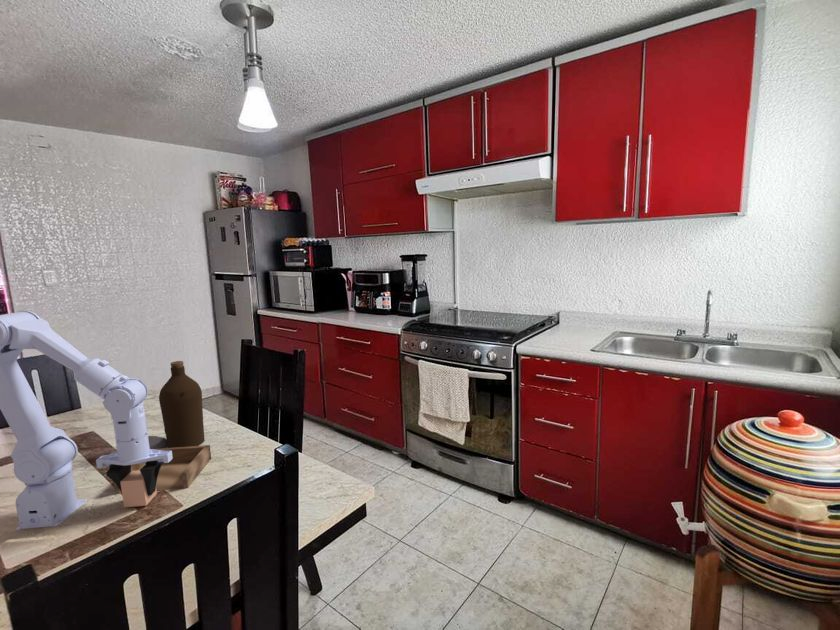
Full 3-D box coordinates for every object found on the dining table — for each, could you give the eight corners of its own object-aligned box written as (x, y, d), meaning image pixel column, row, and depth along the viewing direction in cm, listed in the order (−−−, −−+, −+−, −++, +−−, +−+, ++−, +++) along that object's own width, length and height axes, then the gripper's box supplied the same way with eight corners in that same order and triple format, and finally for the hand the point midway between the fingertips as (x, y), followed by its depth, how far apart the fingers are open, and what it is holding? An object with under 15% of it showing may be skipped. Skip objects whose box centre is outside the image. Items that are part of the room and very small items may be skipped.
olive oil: (215, 440, 122) (206, 359, 119) (182, 456, 113) (171, 369, 109) (190, 434, 127) (181, 356, 123) (157, 450, 117) (145, 365, 113)
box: (188, 490, 96) (186, 472, 96) (115, 496, 95) (112, 478, 94) (211, 460, 110) (209, 445, 110) (148, 465, 109) (146, 449, 108)
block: (146, 505, 89) (142, 479, 88) (124, 507, 89) (120, 481, 88) (156, 493, 94) (153, 469, 93) (135, 495, 93) (132, 470, 92)
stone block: (106, 471, 110) (136, 466, 108) (101, 454, 110) (131, 449, 108) (143, 451, 122) (171, 447, 120) (139, 436, 121) (167, 431, 119)
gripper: (176, 426, 93) (182, 481, 96) (107, 430, 92) (116, 486, 94) (160, 439, 87) (167, 499, 89) (86, 445, 85) (95, 505, 87)
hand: (139, 494), depth 91 cm, fingers closed on block, 4 cm apart
